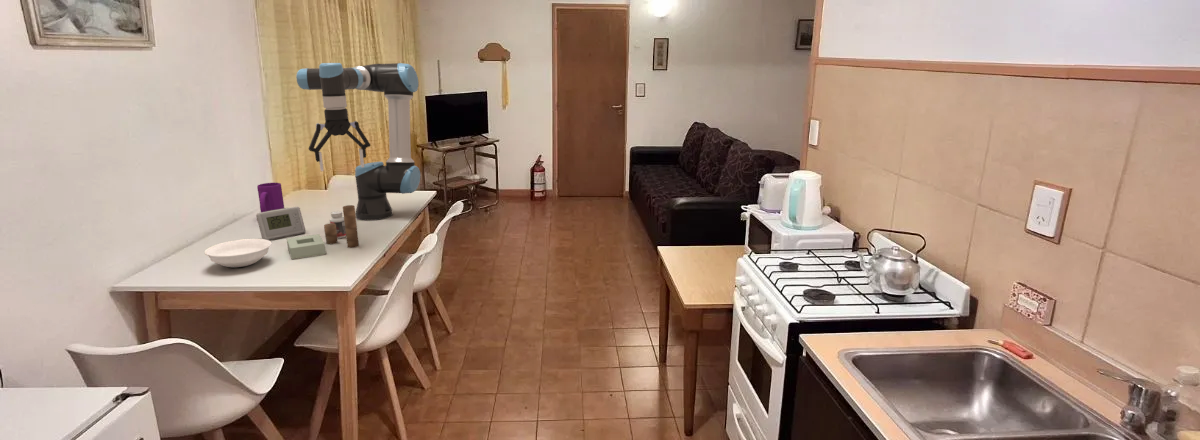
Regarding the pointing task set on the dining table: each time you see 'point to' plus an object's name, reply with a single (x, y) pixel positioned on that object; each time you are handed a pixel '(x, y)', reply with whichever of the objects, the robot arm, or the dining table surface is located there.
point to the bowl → (238, 252)
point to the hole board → (306, 246)
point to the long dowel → (350, 226)
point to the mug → (270, 196)
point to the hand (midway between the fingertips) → (342, 168)
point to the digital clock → (280, 223)
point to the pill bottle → (338, 223)
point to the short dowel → (330, 233)
